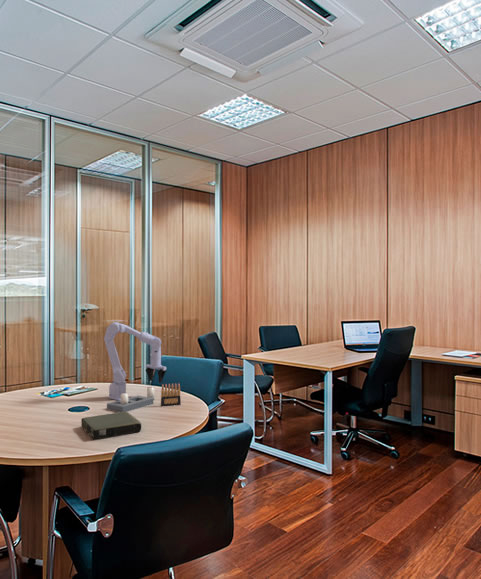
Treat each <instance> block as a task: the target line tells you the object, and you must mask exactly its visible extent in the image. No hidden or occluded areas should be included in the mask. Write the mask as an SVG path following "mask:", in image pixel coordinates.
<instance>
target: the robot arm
mask: <svg viewBox="0 0 481 579" xmlns="http://www.w3.org/2000/svg"><path fill="white" fill-rule="evenodd" d="M118 333H121V334H122V333H126V334H129V335H132V336H134V337H136V338H138V340H139V342H142V343H144V344H146V345H148V346H151V350H150V364H145V368H146V369H145V372H146V373H147V377H148V380H149V382H153V381H154V380H153V378H154V373H155V372H154V371H155V370H157V371H156V372H157V375H158V383H163V381H164V376H165V374H166V373H167V366H164V365H162V347H161V346H162V339H160V337H158V336H156V335H152V334H150V333H149V332H148V331H142V332H140V331H138V330H136V329H134V328H133V327H130V326H129V325H127V324H124V323H120V322H117V321H114V322H112V323H110V324H109V325H108V326H107V327H106V331H105V334H104V338H103V340H104V343H105V348H106V351H107V353H108V358H109V360H110V363H111V366H112V367H111V368H112V374H113V376H112V381H113V382H111V383H110V385H109V386H108V388H109V389H108V395H109V396H108V397H107V399H111V400H114V401H115V400H116V401H119V400H121V394H122V393H127V381H126V380H125V379H126V378H127V374H126V371H125V370H124V368H123V367H122V364H121V361H120V358H119V354H118V350H117V348H116V345H115V344H116V343H115V341H114V339H115V337H116V336H117V334H118ZM128 398H130V396H128Z"/></svg>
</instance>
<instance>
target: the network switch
mask: <svg viewBox="0 0 481 579" xmlns="http://www.w3.org/2000/svg"><path fill="white" fill-rule="evenodd" d="M80 425H81V428H82V429H83V430H84V431H85V432H86V434H88V435H89V436H90V437H91V438H92V440H94V441H97V440H101V439H106V438H107V439H108V438H112V437H116V436H123V435H124V436H125V435H131V434H139V432H140V433H141V430H142V423H141V421H140V420H138V418H136V417H135V416H133V415H132V414H131V413H129V411H127V412H117V411H116V412H113V413H108V414H107V413H106V414H99V415H93V416H92V415H91V416H87V417H82V418H81V421H80Z"/></svg>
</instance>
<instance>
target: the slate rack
mask: <svg viewBox="0 0 481 579" xmlns="http://www.w3.org/2000/svg"><path fill="white" fill-rule="evenodd" d="M128 397H129V398H128ZM147 405H148V406H150V405H154V400H153V398H149V397H147V396H142V395H135V396H131V397H130V396H129V393H127V392H126V393H122V394H121V400H116V401H115V400H114V401H112V402H108V403H106V409H107V410H109V411H114V412H116V413H117V412H129V411H130V412H131V411H134V410H136V409H141V408H143V407H146V406H147Z"/></svg>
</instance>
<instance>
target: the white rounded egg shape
mask: <svg viewBox="0 0 481 579" xmlns="http://www.w3.org/2000/svg"><path fill="white" fill-rule="evenodd" d="M146 397H149V398H153V401H154V400H155V387H154V386H147V388H146Z"/></svg>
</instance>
